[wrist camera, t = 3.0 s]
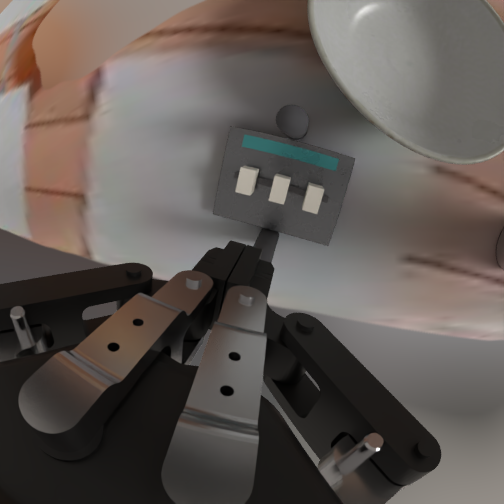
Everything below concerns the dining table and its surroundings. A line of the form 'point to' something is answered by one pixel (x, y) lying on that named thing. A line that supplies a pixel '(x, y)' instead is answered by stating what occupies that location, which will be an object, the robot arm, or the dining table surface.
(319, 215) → the panel
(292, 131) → the dark gray rounded rod
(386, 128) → the decorative bowl
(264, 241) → the cord post
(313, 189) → the paddles
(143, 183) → the dining table surface
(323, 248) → the dining table surface
